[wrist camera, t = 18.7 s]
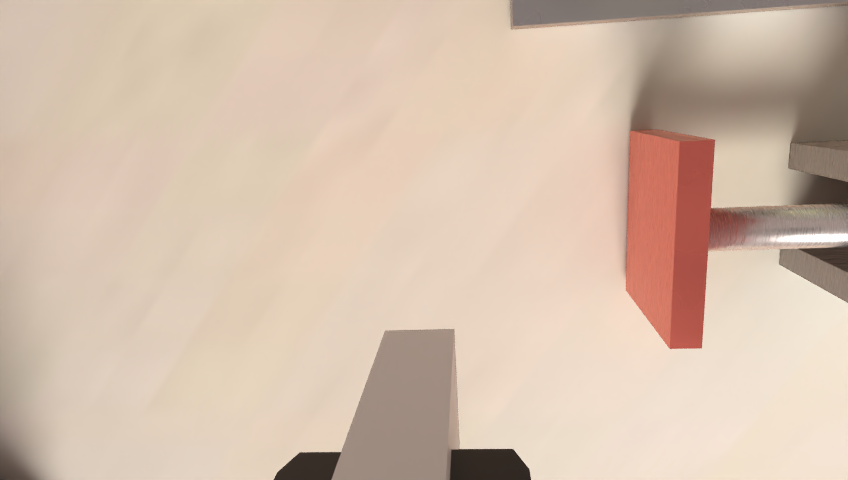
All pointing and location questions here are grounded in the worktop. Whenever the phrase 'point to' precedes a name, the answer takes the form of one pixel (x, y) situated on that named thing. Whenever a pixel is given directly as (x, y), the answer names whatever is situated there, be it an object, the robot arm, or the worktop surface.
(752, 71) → the worktop surface
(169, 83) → the worktop surface
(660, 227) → the lever
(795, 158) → the press
